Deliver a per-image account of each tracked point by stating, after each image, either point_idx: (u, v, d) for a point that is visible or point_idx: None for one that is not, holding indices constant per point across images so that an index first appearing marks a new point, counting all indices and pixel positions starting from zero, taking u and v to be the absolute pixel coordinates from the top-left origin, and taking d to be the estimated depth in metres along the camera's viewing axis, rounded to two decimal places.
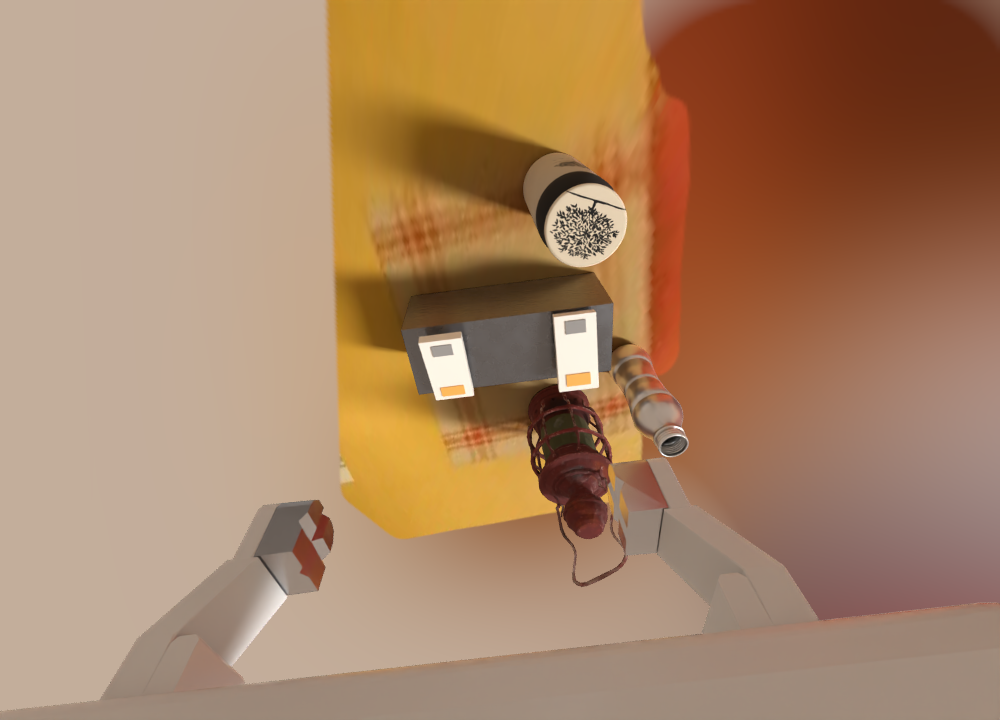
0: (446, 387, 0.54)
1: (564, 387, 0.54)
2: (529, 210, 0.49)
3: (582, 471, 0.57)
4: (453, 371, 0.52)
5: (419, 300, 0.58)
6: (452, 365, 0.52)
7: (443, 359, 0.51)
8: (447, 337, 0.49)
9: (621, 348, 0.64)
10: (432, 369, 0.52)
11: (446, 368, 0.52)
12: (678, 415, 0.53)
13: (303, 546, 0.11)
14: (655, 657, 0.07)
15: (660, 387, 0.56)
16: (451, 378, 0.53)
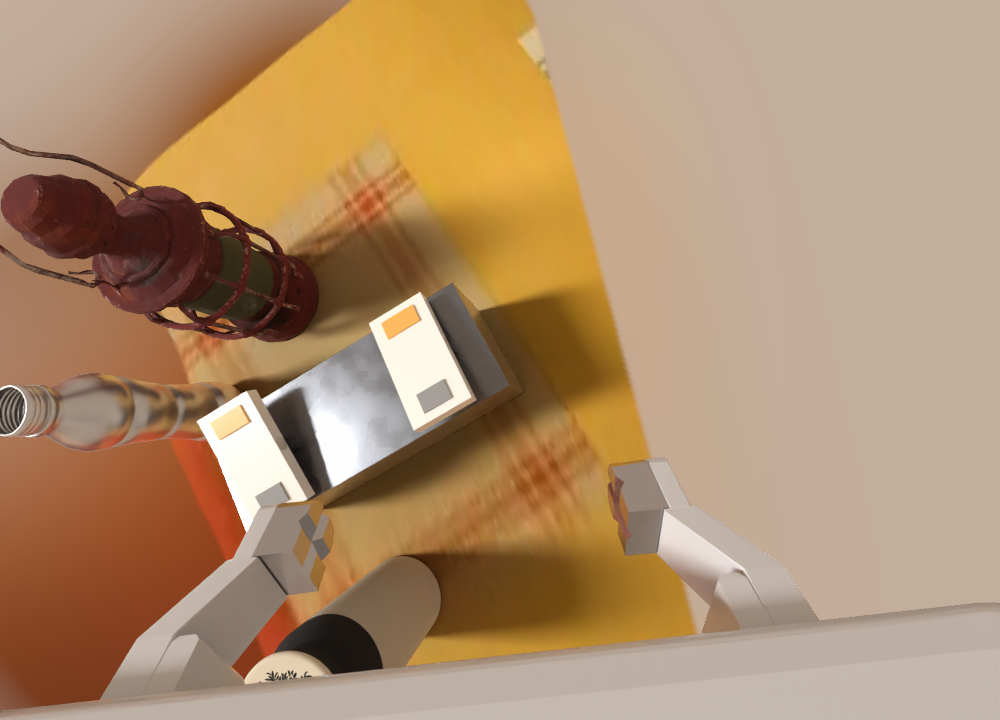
0: (410, 324, 0.34)
1: (242, 401, 0.34)
2: (410, 594, 0.37)
3: (139, 276, 0.33)
4: (409, 360, 0.33)
5: (510, 397, 0.42)
6: (413, 371, 0.33)
7: (428, 378, 0.32)
8: (434, 421, 0.32)
9: None
10: (439, 352, 0.32)
11: (420, 362, 0.33)
12: (53, 439, 0.33)
13: (303, 546, 0.11)
14: (656, 656, 0.07)
15: (124, 444, 0.37)
16: (408, 345, 0.33)
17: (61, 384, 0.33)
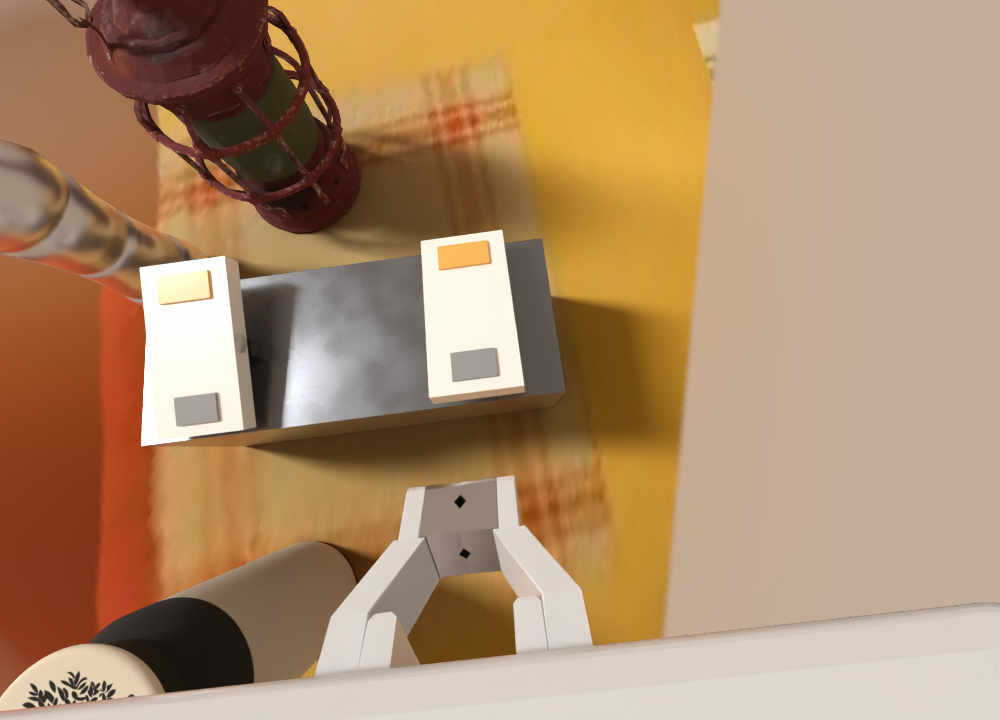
0: (475, 263, 0.25)
1: (214, 267, 0.24)
2: (321, 603, 0.27)
3: (146, 44, 0.23)
4: (456, 306, 0.24)
5: (537, 406, 0.33)
6: (456, 322, 0.24)
7: (473, 338, 0.23)
8: (460, 396, 0.23)
9: None
10: (501, 313, 0.24)
11: (470, 315, 0.24)
12: None
13: None
14: (656, 657, 0.07)
15: (27, 259, 0.26)
16: (463, 287, 0.24)
17: None
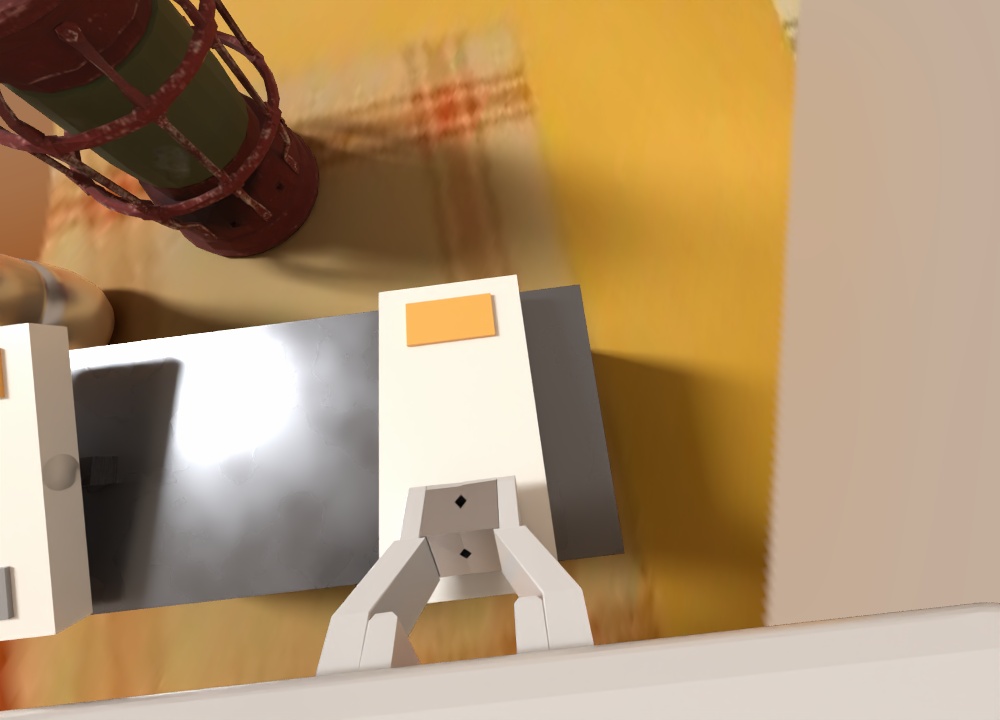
0: (470, 336, 0.14)
1: (9, 343, 0.14)
2: None
3: None
4: (436, 417, 0.13)
5: None
6: (435, 449, 0.13)
7: None
8: None
9: None
10: (516, 431, 0.13)
11: (461, 434, 0.13)
12: None
13: None
14: (656, 656, 0.07)
15: None
16: (448, 380, 0.14)
17: None
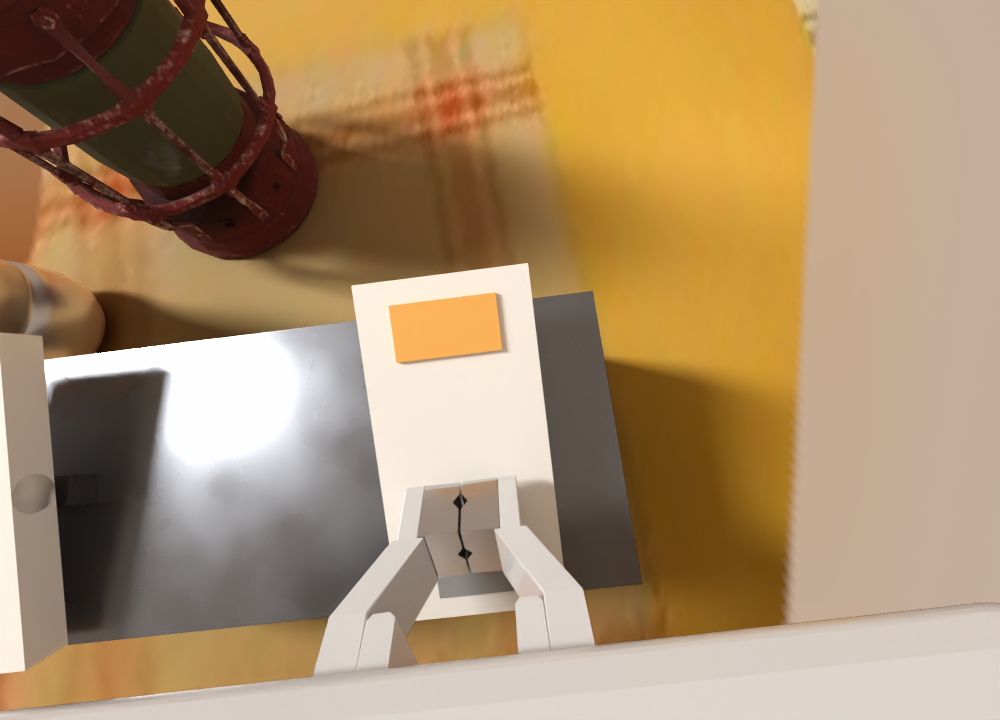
0: (472, 351, 0.12)
1: None
2: None
3: None
4: (438, 446, 0.12)
5: None
6: (441, 480, 0.12)
7: None
8: None
9: None
10: (526, 462, 0.12)
11: (467, 465, 0.12)
12: None
13: (460, 527, 0.10)
14: (656, 656, 0.07)
15: None
16: (449, 404, 0.12)
17: None
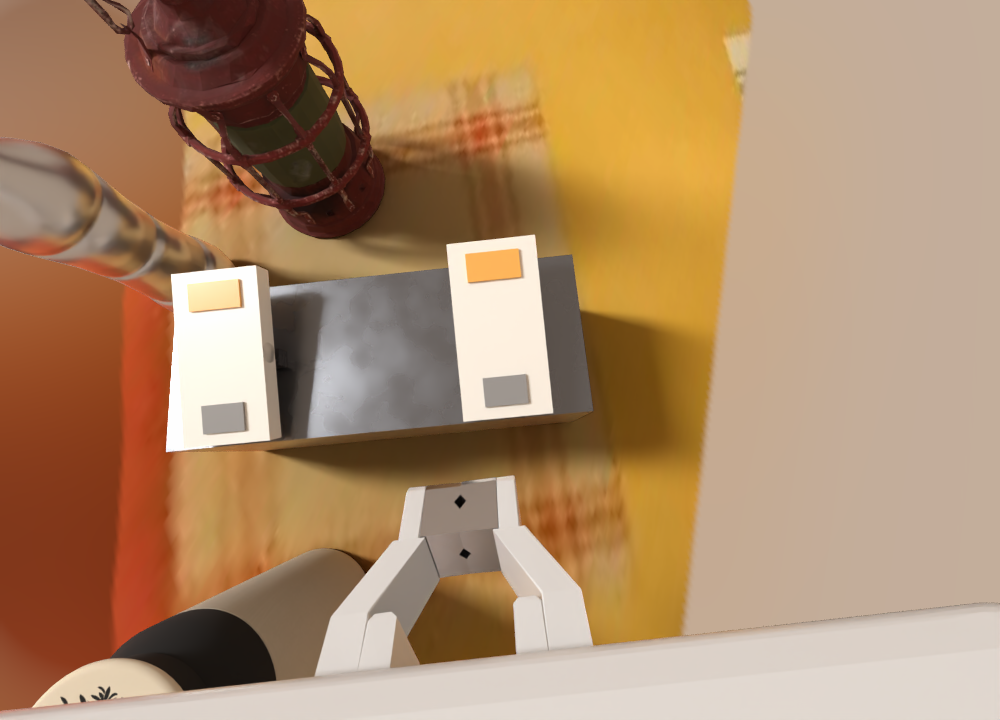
0: (506, 277, 0.24)
1: (245, 276, 0.24)
2: None
3: (186, 52, 0.23)
4: (487, 326, 0.24)
5: (558, 421, 0.33)
6: (487, 344, 0.24)
7: (505, 362, 0.24)
8: None
9: None
10: (532, 335, 0.24)
11: (501, 336, 0.24)
12: None
13: None
14: (656, 656, 0.07)
15: (59, 262, 0.27)
16: (493, 304, 0.24)
17: (8, 139, 0.23)
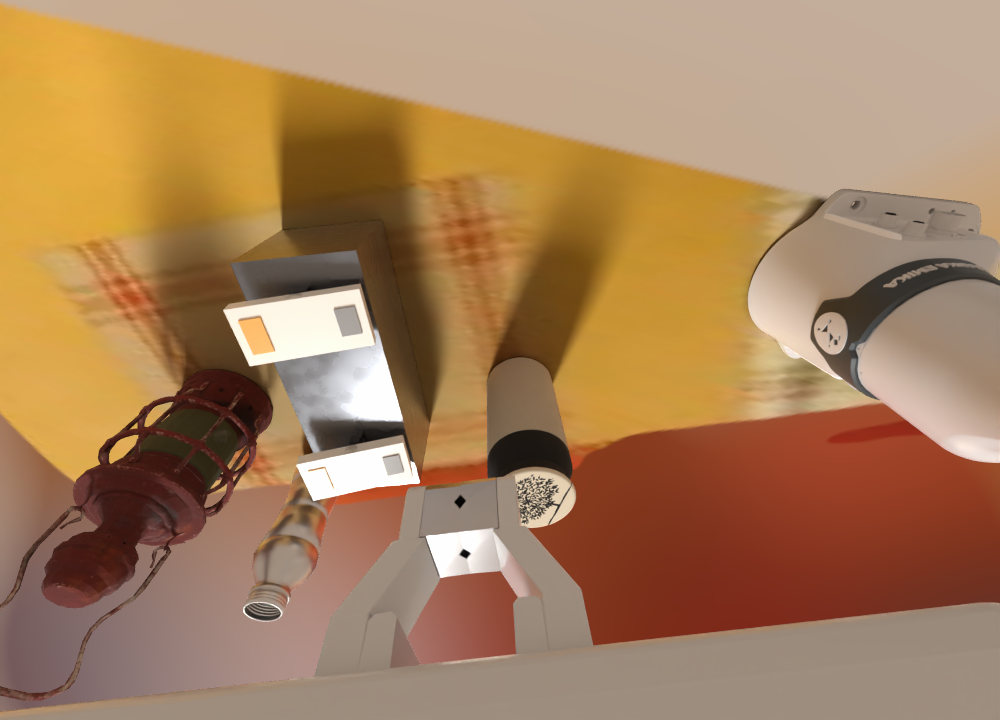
0: (263, 327, 0.33)
1: (305, 468, 0.40)
2: (512, 386, 0.45)
3: (167, 520, 0.38)
4: (304, 335, 0.34)
5: (381, 239, 0.41)
6: (317, 334, 0.34)
7: (328, 322, 0.34)
8: (370, 325, 0.35)
9: None
10: (303, 306, 0.33)
11: (309, 326, 0.34)
12: (298, 585, 0.45)
13: None
14: (656, 657, 0.07)
15: None
16: (286, 333, 0.33)
17: (255, 577, 0.43)
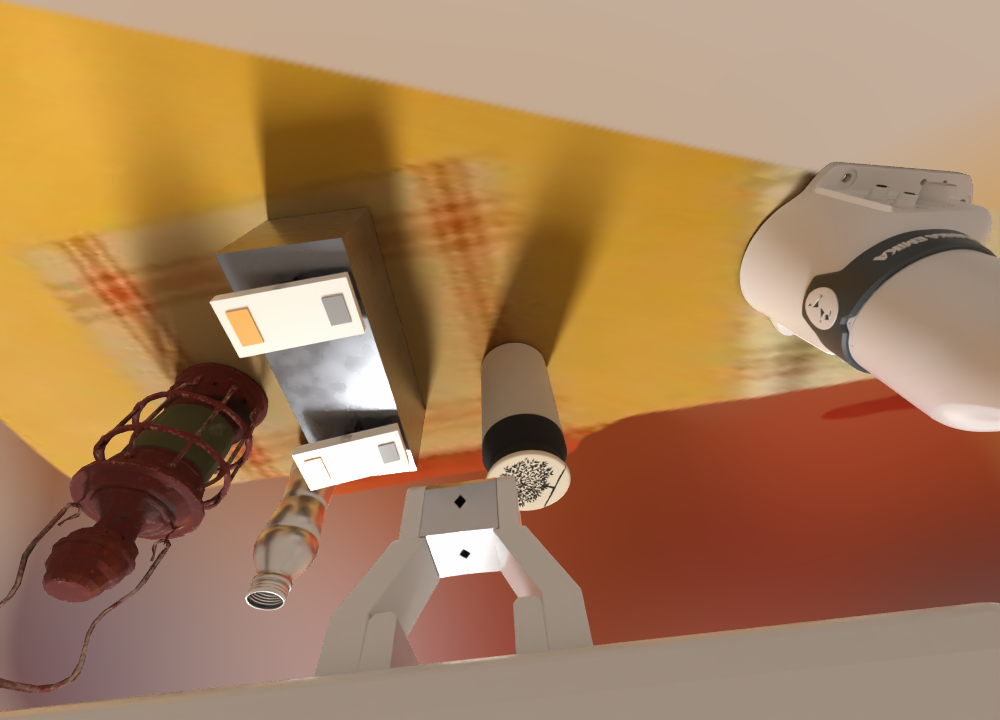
0: (251, 318, 0.33)
1: (301, 459, 0.40)
2: (505, 371, 0.45)
3: (165, 514, 0.38)
4: (292, 326, 0.34)
5: (368, 226, 0.40)
6: (306, 324, 0.34)
7: (316, 312, 0.33)
8: (359, 313, 0.35)
9: None
10: (291, 296, 0.32)
11: (297, 316, 0.33)
12: (300, 574, 0.45)
13: None
14: (656, 656, 0.07)
15: None
16: (275, 324, 0.33)
17: (256, 567, 0.44)
